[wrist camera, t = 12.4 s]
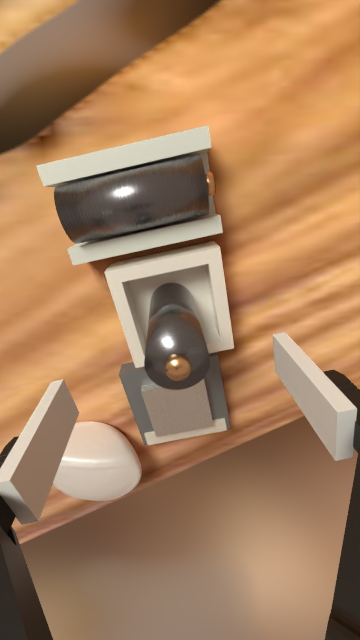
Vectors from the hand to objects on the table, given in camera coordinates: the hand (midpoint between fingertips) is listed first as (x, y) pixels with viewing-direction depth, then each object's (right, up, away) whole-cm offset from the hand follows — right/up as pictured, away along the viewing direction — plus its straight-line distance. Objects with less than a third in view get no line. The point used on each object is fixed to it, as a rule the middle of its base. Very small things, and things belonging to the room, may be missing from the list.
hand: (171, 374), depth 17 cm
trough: (-3, +14, +8) cm, 16 cm away
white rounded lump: (-11, -14, +20) cm, 27 cm away
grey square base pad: (0, -6, +17) cm, 18 cm away
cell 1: (-3, +14, +7) cm, 16 cm away
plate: (0, -6, +15) cm, 16 cm away
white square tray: (0, +5, +12) cm, 13 cm away
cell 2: (0, +5, +11) cm, 12 cm away
